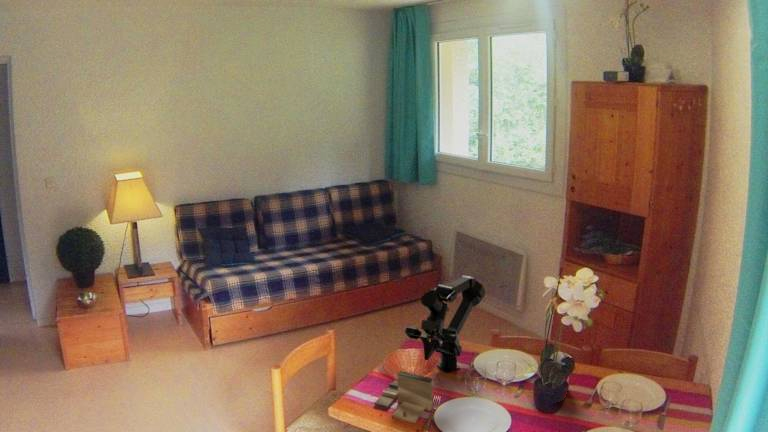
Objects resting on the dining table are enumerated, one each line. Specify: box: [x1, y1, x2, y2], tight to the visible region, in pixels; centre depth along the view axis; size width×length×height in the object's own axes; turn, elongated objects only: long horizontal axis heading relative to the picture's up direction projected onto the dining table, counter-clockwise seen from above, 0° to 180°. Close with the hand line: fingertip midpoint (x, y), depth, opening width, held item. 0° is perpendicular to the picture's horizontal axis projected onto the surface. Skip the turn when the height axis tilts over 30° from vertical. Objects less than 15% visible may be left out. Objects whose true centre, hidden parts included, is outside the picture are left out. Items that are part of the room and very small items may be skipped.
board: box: [374, 380, 398, 410], centre depth 213 cm, size 16×5×2 cm, turn 153°
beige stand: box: [392, 370, 434, 424], centre depth 202 cm, size 10×12×11 cm
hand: (425, 359), depth 210 cm, fingers closed
